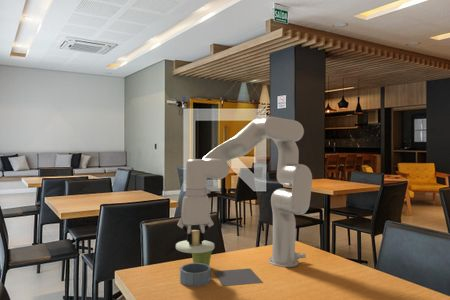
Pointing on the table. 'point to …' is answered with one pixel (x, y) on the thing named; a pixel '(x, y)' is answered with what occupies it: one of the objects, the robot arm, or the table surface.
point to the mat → (237, 277)
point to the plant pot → (202, 257)
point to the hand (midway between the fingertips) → (195, 243)
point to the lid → (195, 244)
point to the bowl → (195, 274)
